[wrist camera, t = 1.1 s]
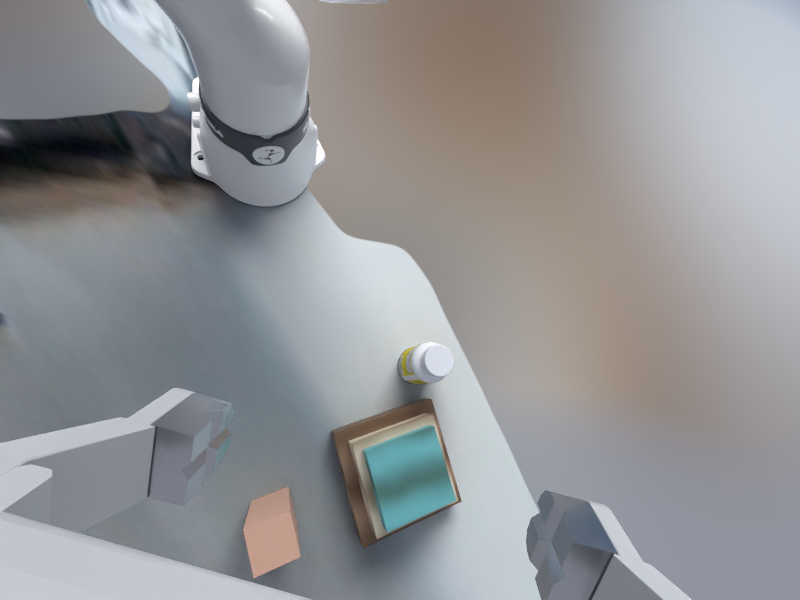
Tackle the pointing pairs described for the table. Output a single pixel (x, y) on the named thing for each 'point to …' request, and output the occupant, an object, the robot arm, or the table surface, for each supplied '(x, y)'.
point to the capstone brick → (271, 532)
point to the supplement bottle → (425, 363)
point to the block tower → (395, 469)
